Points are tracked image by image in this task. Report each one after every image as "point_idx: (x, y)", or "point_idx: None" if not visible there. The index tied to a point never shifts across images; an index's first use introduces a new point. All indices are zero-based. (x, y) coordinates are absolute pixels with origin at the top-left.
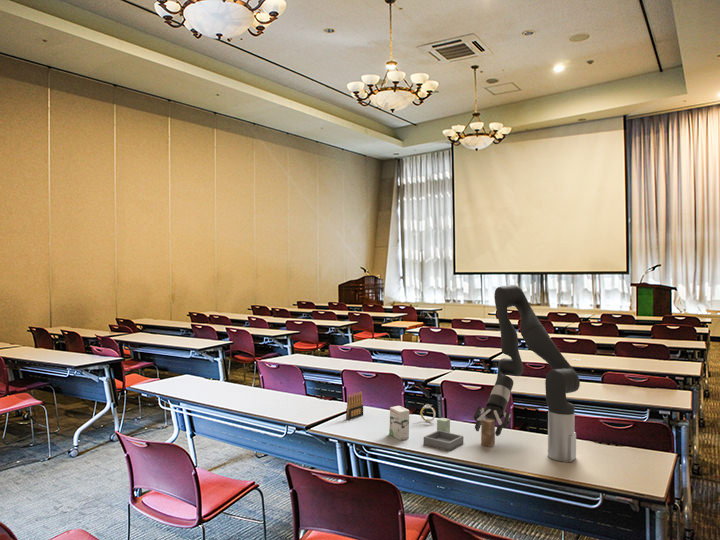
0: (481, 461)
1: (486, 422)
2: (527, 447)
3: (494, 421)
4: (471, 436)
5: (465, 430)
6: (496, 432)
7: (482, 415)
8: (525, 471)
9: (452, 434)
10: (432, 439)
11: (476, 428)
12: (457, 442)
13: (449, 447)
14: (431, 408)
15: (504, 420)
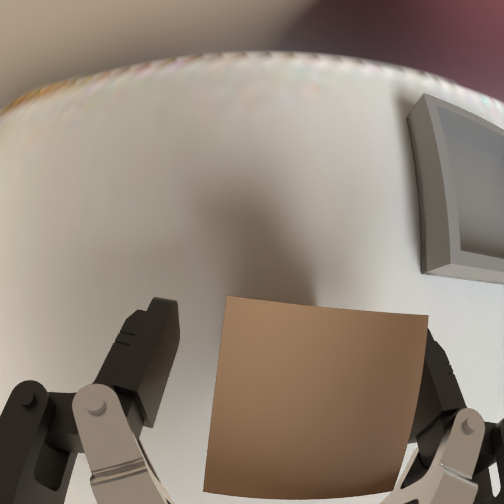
0: (216, 70)
1: (319, 309)
2: None
3: (208, 462)
4: None
5: None
6: (157, 301)
7: (459, 486)
8: (44, 95)
9: (500, 259)
10: (496, 127)
11: None
12: (431, 186)
13: (414, 110)
14: None
15: (26, 445)
